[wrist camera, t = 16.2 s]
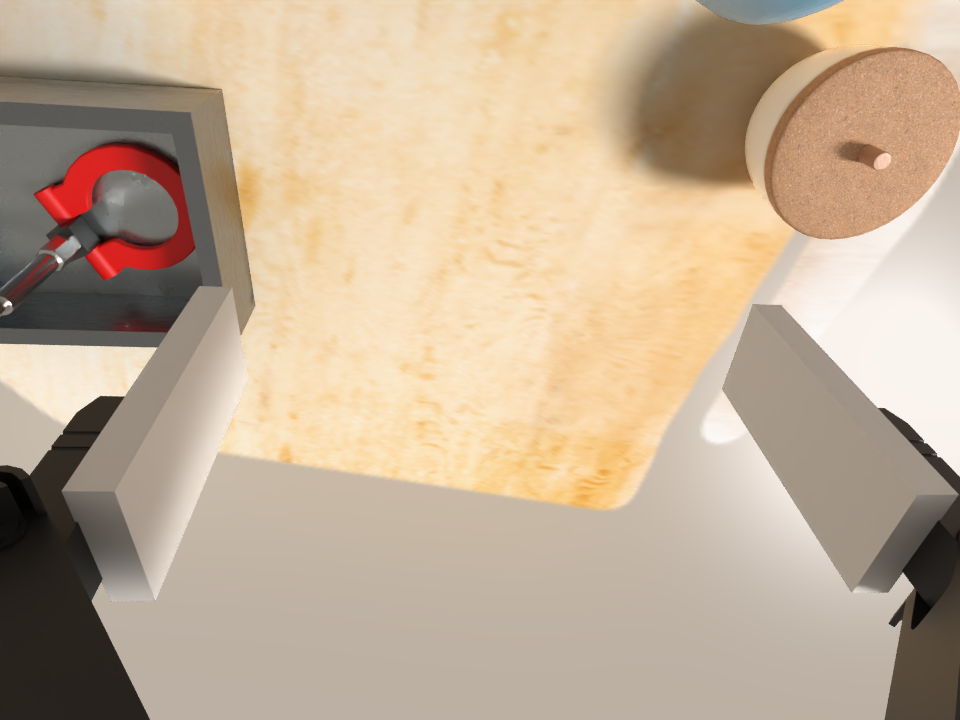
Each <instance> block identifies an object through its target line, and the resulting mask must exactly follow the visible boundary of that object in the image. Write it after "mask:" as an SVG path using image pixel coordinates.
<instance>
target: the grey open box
mask: <svg viewBox="0 0 960 720" xmlns="http://www.w3.org/2000/svg"><path fill="white" fill-rule="evenodd" d="M112 143H122V144H133V145H137V146H140V147H143V148H146V149H149V150H152V151H155V152H156V153H158V154H160V155H161V156H163V157H165V158H167V159H168V160H170V161H171V162H172V163H174V164H175V165H176V166H177V167H178V168H179V170H180V175H181V180H182V184H183V189H184V194H185V199H186V204H187V209H188V214H189V219H190V224H191V229H192V233H193V238H194V243H195V249H194V251H193V252H192V253H191V254H190V255H188V256H187V257H186V258H185V259H184V260H183V261H181V262H179V263H177V264H175V265H173V266H171V267H168V268H162V269H156V270H146V269H135V268H131V267H125V268H123V269H122V271H121V272H120V273H118V274H117V275H116V276H114V277H112V278H110V279H107V280H103V279H102V278H101V276H100V275H99V274H98V273H97V271H96V270H95V269H94V268H93V267H92V265H91V264H90V263H89V262H88V261H87V259H86V258H85V257H82V258H79V259H77V260H75V261H72V262H70V263H69V264H68V265H67V266H66V267H64V268H63V269H62V270H61V271H60V272H54V273H53V274H52V275H50V276H49V277H48V278H47V279H46V280H45V281H44V282H43V283H42V284H41V285H40V286H39V287H38V288H37V289H36V290H35V291H34V292H32V293H31V294H30V295H29V296H28V297H27V298H26V299H25V300H24V301H23V302H22V303H21V304H20V305H19V306H18V307H17V308H16V309H15V310H13V311H12V312H11V313H10V314H8V315H2V316H1V317H0V344H39V345H80V346H122V347H159V345H160V344H161V342H162V341H163V339H164V338H165V336H166V335H167V333H168V332H169V330H170V329H171V327H172V326H173V324H174V323H175V321H176V320H177V318H178V317H179V315H180V314H181V312H182V311H183V309H184V308H185V306H186V305H187V303H188V302H189V300H190V299H191V297H192V296H193V294H194V293H195V291H196V290H197V288H198V287H199V286H212V287H232V290H233V295H234V301H235V307H236V312H237V318H238V324H239V330H240V335H241V334H242V332H243V330H244V328H245V326H246V324H247V322H248V320H249V318H250V316H251V313H252V311H253V309H254V307H255V301H254V295H253V288H252V282H251V275H250V269H249V262H248V256H247V249H246V243H245V236H244V230H243V223H242V217H241V210H240V204H239V198H238V191H237V185H236V178H235V172H234V165H233V159H232V152H231V146H230V139H229V133H228V126H227V120H226V113H225V107H224V100H223V94H222V90H219V89H203V88H186V87H170V86H153V85H137V84H121V83H104V82H88V81H71V80H55V79H39V78H22V77H6V76H0V288H1V287H3V286H4V285H5V284H6V283H7V282H8V281H10V280H11V279H12V278H13V277H14V276H15V275H17V274H18V273H19V272H20V271H21V270H22V269H24V268H25V267H26V266H27V265H28V264H29V263H31V262H32V261H33V260H34V259H35V257H36V255H37V253H38V251H39V250H40V248H42V247H43V246H44V245H45V244H46V243H48V242H49V241H50V240H49V239H48V238H47V236H46V234H48V233H49V232H50V231H51V230H52V229H54V228H55V227H56V226H57V225H58V224H57V223H56V222H55V221H54V219H53V218H52V217H51V216H50V214H49V213H48V212H47V211H46V210H45V208H44V207H43V206H42V205H41V204H40V202H39V201H38V200H37V199H36V198H35V196H34V195H33V194H34V193H35V192H37V191H39V190H40V189H42V188H44V187H46V186H49V185H52V184H55V186H57V185H59V184H61V183H63V180H64V178H65V176H66V173H67V171H68V168H69V167H70V166H71V165H72V164H73V163H74V161H75V160H76V159H77V158H78V157H79V156H80V155H82V154H83V153H85V152H87V151H89V150H91V149H93V148H95V147H97V146H101V145H107V144H112ZM92 203H93V205H92V207H91V209H89V210H88V211H87V212H84V213H82V214H80V215H82V216H83V218H84V219H85V220H86V221H87V223H88V224H89V225H90V226H91V228H92V229H93V230H94V231H95V233H96V234H97V235H98V237H99V238H100V239H101V243H103V242H106V241H108V240H111V239H113V238H120V239H122V240H124V241H126V242H127V243H131V244H134V245H138V246H155V245H160V244H162V243H165V242H167V241H169V240H170V239H171V238H172V237H173V236H174V234H175V232H176V231H177V227H178V220H179V219H178V213H177V208H176V206H175V204H174V201H173V199H172V198H171V196H170V195H169V194H168V192H167V191H166V190H165V189H164V188H163V187H162V186H161V185H160V184H159V183H157V182H156V181H155V180H153V179H151V178H150V177H148V176H146V175H144V174H141V173H138V172H135V171H130V170H115V171H110V172H107V173H105V174H103V175H101V176H100V177H99V178H98V179H97V180H96V183H95V185H94V187H93V189H92Z"/></svg>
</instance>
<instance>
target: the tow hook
mask: <svg viewBox="0 0 960 720" xmlns="http://www.w3.org/2000/svg"><path fill="white" fill-rule="evenodd" d="M115 170H130V171H135V172H138V173H141V174H144V175H146V176H148V177H150V178H151V179H153V180H155V181H156V182H157V183H159V184H160V185H161V186H162V187H163V188H164V189H165V190H166V191H167V192H168V194H169V195H170V196H171V198H172V199H173V201H174V204H175V206H176V208H177V213H178V219H179V220H178V227H177V231H176V232H175V234H174V236H173V237H172V238H171V239H170V240H169V241H167V242H165V243H162V244H160V245H155V246H138V245H134V244H131V243H127V242H126V241H124V240H122V239H120V238H113V239H111V240H108V241H106V242H103V243H101V239H100V238H99V237H98V235H97V234H96V233H95V231H94V230H93V229H92V228H91V226H90V225H89V224H88V223H87V221H86V220H85V219H84V218H83V216H82V215H80V214H82V213H84V212H87V211H88V210H89V209H91V207H92V205H93V203H92V189H93V187H94V185H95V183H96V180H97V179H98V178H99V177H100V176H101V175H103V174H105V173H107V172H110V171H115ZM33 195H34V196H35V198H36V199H37V200H38V201H39V202H40V204H41V205H42V206H43V207H44V208H45V210H46V211H47V212H48V213H49V214H50V216H51V217H52V218H53V219H54V221H55V222H56V223H57V224H58V225H57V226H56V227H55V228H54V229H52V230H51V231H50V232H49V233H48V234H46V236H47V238H48V239H49V240H50V241H49V242H48V243H46V244H45V245H44V246H43V247H42V248H40V250H39V251H38V253H37V255H36V257H35V259H34V260H33V261H32V262H31V263H29V264H28V265H27V266H26V267H25V268H24V269H22V270H21V271H20V272H19V273H18V274H17V275H15V276H14V277H13V278H12V279H11V280H10V281H8V282H7V283H6V284H5V285H4V286H3V287H1V288H0V317H1V316H2V315H8V314H10V313H11V312H12V311H13V310H15V309H16V308H17V307H18V306H19V305H20V304H21V303H22V302H23V301H24V300H25V299H26V298H27V297H28V296H29V295H30V294H31V293H32V292H34V291H35V290H36V289H37V288H38V287H39V286H40V285H41V284H42V283H43V282H44V281H45V280H46V279H47V278H48V277H49V276H50V275H52V274H53V273H54V272H60V271H61V270H62V269H63V268H64V267H66V266H67V265H68V264H69V263H70V262H72V261H75V260H77V259H79V258H82V257H85V258H86V259H87V261H88V262H89V263H90V264H91V265H92V267H93V268H94V269H95V270H96V271H97V273H98V274H99V275H100V276H101V278H102V279H103V280H107V279H110V278H112V277H114V276H116V275H117V274H118V273H120V272H121V271H122V269H123V268H125V267H131V268H135V269H146V270H156V269H162V268H168V267H171V266H173V265H175V264H177V263H179V262H181V261H183V260H184V259H185V258H186V257H187V256H188V255H190V254H191V253H192V252H193V251H194V249H195V243H194V238H193V233H192V229H191V224H190V219H189V214H188V209H187V204H186V199H185V194H184V189H183V184H182V180H181V175H180V170H179V168H178V167H177V166H176V165H175V164H174V163H172V162H171V161H170V160H168V159H167V158H165V157H163V156H161V155H160V154H158V153H156V152H155V151H152V150H149V149H146V148H143V147H140V146H137V145H133V144H122V143H112V144H107V145H101V146H97V147H95V148H93V149H91V150H89V151H87V152H85V153H83V154H82V155H80V156H79V157H78V158H77V159H76V160H75V161H74V163H73V164H72V165H71V166H70V167H69V168H68V171H67V173H66V176H65V178H64V180H63V183H61V184H59V185H57V186H55V184H52V185H49V186H46V187H44V188H42V189H40V190H39V191H37V192H35V193H34V194H33Z"/></svg>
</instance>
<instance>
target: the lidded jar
mask: <svg viewBox="0 0 960 720" xmlns="http://www.w3.org/2000/svg"><path fill="white" fill-rule="evenodd" d="M959 131H960V92H959V89H958V85H957V82H956V80H955V79H954V77H953V75H952V74H951V72H950V71H949V70H948V69H947V68H946V67H945V66H944V65H943V64H942V63H941V62H940V61H939V60H937V59H935V58H934V57H932V56H931V55H928V54H925V53H922V52H919V51H916V50H912V49H906V48H897V47H886V46H878V45H847V46H841V47H836V48H832V49H828V50H824V51H821V52H819V53H816V54H814V55H811V56H809V57H807V58H805V59H804V60H802V61H800V62H798V63H797V64H795V65H793V66H792V67H791V68H789V69H788V70H787V71H785V72H784V73H783V74H782V75H780V76H779V77H778V78H777V79H776V80H775V81H774V82H773V83H772V84H771V86H770V87H769V88H768V89H767V91H766V92H765V93H764V94H763V96H762V97H761V99H760V101H759V102H758V104H757V105H756V108H755V110H754V112H753V114H752V116H751V119H750V122H749V125H748V128H747V133H746V138H745V157H746V165H747V169H748V172H749V175H750V177H751V179H752V182H753V184H754V185H755V187H756V189H757V191H758V192H759V194H760V195H761V196H762V198H763V199H764V200H765V201H766V202H767V203H768V205H769V206H770V207H771V208H772V209H774V210H775V211H776V213H777V214H778V215H779V216H780V217H781V218H782V219H783V221H785V222H786V223H787V224H788V225H790V226H791V227H793V228H794V229H795V230H797V231H799V232H801V233H803V234H805V235H807V236H811V237H815V238H819V239H843V238H849V237H853V236H858V235H861V234H864V233H867V232H869V231H872V230H875V229H877V228H879V227H881V226H883V225H885V224H887V223H889V222H890V221H892V220H893V219H895V218H897V217H898V216H900V215H901V214H902V213H904V212H905V211H906V210H908V209H909V208H910V207H911V206H913V205H914V204H915V203H916V202H917V201H918V200H919V199H920V198H921V197H922V196H923V195H924V194H925V193H926V192H927V191H928V190H929V188H930V187H931V186H932V185H933V184H934V183H935V181H936V180H937V178H938V177H939V175H940V174H941V172H942V171H943V169H944V168H945V166H946V164H947V162H948V160H949V159H950V157H951V155H952V153H953V150H954V147H955V145H956V142H957V139H958V135H959Z"/></svg>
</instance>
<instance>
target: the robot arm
mask: <svg viewBox="0 0 960 720" xmlns="http://www.w3.org/2000/svg"><path fill="white" fill-rule="evenodd" d="M696 1H697V2H699V3H700V4H702V5H703V6H705V7H706V8H708V9H709V10H710V11H712V12H714V13H715V14H717V15H718V16H720V17H722V18H725V19H729V20H732V21H735V22H740V23H744V24H753V25H764V24H774V23H781V22H786V21H790V20H795V19H798V18H802V17H805V16H808V15H811V14H813V13H816V12H819V11H821V10H824V9H826V8H829V7H831V6H833V5H835V4H837V3H839V2H841V1H843V0H696ZM247 381H248V375H247V370H246V364H245V358H244V352H243V347H242V341H241V335H240V330H239V324H238V318H237V312H236V307H235V301H234V295H233V290H232V287H212V286H199V287H198V288H197V290H196V291H195V293H194V294H193V296H192V297H191V299H190V300H189V302H188V303H187V305H186V306H185V308H184V309H183V311H182V312H181V314H180V315H179V317H178V318H177V320H176V321H175V323H174V324H173V326H172V327H171V329H170V330H169V332H168V333H167V335H166V336H165V338H164V339H163V341H162V342H161V344H160V345H159V347H158V348H157V350H156V351H155V353H154V354H153V356H152V357H151V359H150V360H149V362H148V363H147V364H146V366H145V367H144V369H143V370H142V372H141V373H140V375H139V376H138V378H137V379H136V381H135V382H134V384H133V385H132V387H131V388H130V390H129V391H128V393H127V394H126V396H125V397H118V396H100V397H98V398H97V399H95V400H94V401H93V402H91V403H90V404H88V405H87V406H85V407H84V408H83V409H81V410H80V411H78V412H77V413H76V414H75V416H74V417H73V418H72V420H71V421H70V422H69V424H68V425H67V426H66V428H65V429H64V430H63V435H60V436H59V437H58V439H57V440H56V441H55V442H54V444H53V445H52V449H51V450H49V451H48V452H47V453H46V454H45V456H44V457H43V458H42V460H41V461H40V462H39V464H38V465H37V466H36V468H35V469H34V470H33V472H32V473H31V474H30V476H29V475H28V474H27V473H26V472H25V471H24V470H23V469H21V468H17V467H12V466H8V465H6V466H0V720H150V719H149V717H148V715H147V713H146V711H145V709H144V707H143V705H142V703H141V701H140V699H139V697H138V695H137V693H136V691H135V689H134V687H133V685H132V683H131V681H130V679H129V677H128V674H127V672H126V670H125V668H124V667H123V664H122V662H121V660H120V658H119V656H118V654H117V652H116V650H115V649H114V646H113V644H112V642H111V640H110V638H109V636H108V634H107V632H106V630H105V628H104V626H103V624H102V622H101V620H100V618H99V616H98V614H97V612H96V610H95V608H94V606H93V604H92V602H91V601H92V599H93V597H94V595H95V593H96V591H97V589H98V587H99V585H100V583H101V582H102V584H103V586H104V589H105V591H106V593H107V595H108V598H109V600H110V601H155V600H156V598H157V596H158V594H159V591H160V589H161V586H162V584H163V582H164V579H165V577H166V575H167V572H168V570H169V567H170V565H171V563H172V560H173V558H174V556H175V553H176V551H177V548H178V546H179V544H180V541H181V539H182V536H183V534H184V532H185V529H186V527H187V524H188V522H189V520H190V517H191V515H192V513H193V510H194V508H195V505H196V503H197V501H198V498H199V496H200V493H201V491H202V488H203V486H204V483H205V481H206V479H207V477H208V474H209V472H210V470H211V467H212V465H213V462H214V460H215V458H216V455H217V453H218V450H219V448H220V446H221V443H222V441H223V439H224V436H225V434H226V431H227V429H228V427H229V424H230V422H231V419H232V417H233V415H234V412H235V410H236V407H237V405H238V403H239V400H240V398H241V396H242V393H243V391H244V388H245V386H246V384H247ZM722 390H723V391H724V393H725V394H726V396H727V397H728V399H729V401H730V402H731V404H732V405H733V407H734V409H735V410H736V412H737V413H738V415H739V416H740V418H741V420H742V421H743V423H744V424H745V426H746V427H747V429H748V431H749V432H750V434H751V435H752V437H753V438H754V440H755V442H756V443H757V445H758V446H759V448H760V449H761V451H762V453H763V454H764V456H765V457H766V459H767V460H768V462H769V464H770V465H771V467H772V468H773V470H774V471H775V473H776V474H777V476H778V477H779V479H780V481H781V482H782V484H783V486H784V487H785V489H786V490H787V492H788V493H789V495H790V497H791V498H792V500H793V501H794V503H795V504H796V506H797V508H798V509H799V511H800V512H801V514H802V515H803V517H804V519H805V520H806V522H807V523H808V525H809V526H810V528H811V529H812V531H813V533H814V534H815V536H816V537H817V539H818V540H819V542H820V544H821V545H822V547H823V548H824V550H825V551H826V553H827V555H828V556H829V558H830V559H831V561H832V562H833V564H834V566H835V567H836V569H837V570H838V572H839V574H840V575H841V577H842V578H843V580H844V581H845V583H846V585H847V586H848V588H849V589H850V591H851V592H852V593H880V592H881V593H883V592H884V593H885V592H889V591H890V589H891V588H892V587H893V585H894V584H895V582H896V581H897V580H898V578H899V577H900V575H901V574H902V573H904V574H905V575H906V577H907V578H908V579H909V581H910V582H911V584H912V585H913V586H914V589H913V591H912V592H911V593H910V595H909V596H908V597H907V599H906V600H905V601H904V603H903V604H902V605H901V606H900V608H899V609H898V610H897V612H896V613H895V614H894V616H893V617H892V619H891V621H890V622H889V624H890V625H891V626H893V627H895V626H896V625H897V623H898V622H899V621H900V620H902V626H901V631H900V637H899V643H898V648H897V654H896V659H895V665H894V671H893V676H892V682H891V687H890V693H889V698H888V704H887V710H886V716H885V720H960V477H959V476H958V475H957V474H956V473H955V472H954V471H953V470H952V469H951V468H950V466H949V465H947V463H946V462H945V461H944V460H943V459H942V458H941V457H937V453H936V452H935V451H934V450H933V449H932V448H931V447H930V446H929V445H928V444H926V443H924V440H923V439H922V438H921V437H920V436H919V435H918V434H917V433H916V432H915V430H914V429H913V428H912V427H911V426H910V425H909V424H908V423H906V422H905V421H903V420H902V419H900V418H899V417H897V416H895V415H894V414H893V413H891V412H889V411H888V410H886V409H885V408H877V407H876V406H875V405H874V404H873V403H872V402H871V401H870V400H869V398H867V397H866V396H865V394H864V393H863V392H862V391H861V390H860V389H859V388H858V387H857V386H856V385H855V384H854V383H853V381H852V380H851V379H850V378H849V377H848V376H847V375H846V374H845V373H844V372H843V371H842V370H841V369H840V368H839V367H838V365H837V364H836V363H835V362H834V361H833V360H832V359H831V358H830V357H829V356H828V355H827V354H826V353H825V352H824V351H823V350H822V348H820V346H819V345H818V344H817V343H816V342H815V341H814V340H813V339H812V338H811V337H810V336H809V335H808V334H807V332H806V331H805V330H804V329H803V328H802V327H801V326H800V325H799V324H798V323H797V322H796V321H795V320H794V319H793V318H792V317H791V315H790V314H789V313H788V312H787V311H786V310H785V309H784V308H783V307H782V306H781V305H758V304H755V305H754V304H753V305H752V308H751V311H750V314H749V316H748V319H747V322H746V325H745V327H744V330H743V333H742V335H741V338H740V341H739V344H738V346H737V349H736V352H735V355H734V358H733V360H732V363H731V366H730V368H729V371H728V374H727V377H726V379H725V382H724V385H723V388H722Z"/></svg>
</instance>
